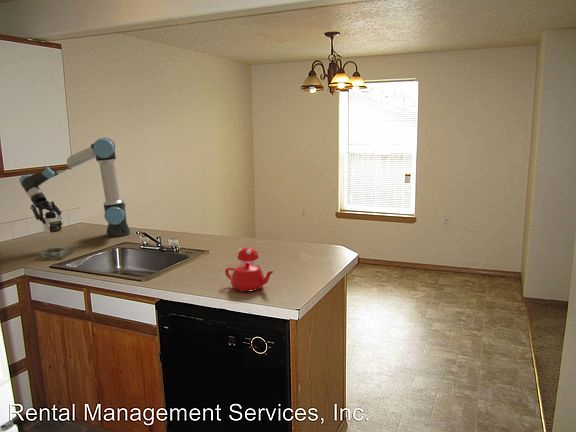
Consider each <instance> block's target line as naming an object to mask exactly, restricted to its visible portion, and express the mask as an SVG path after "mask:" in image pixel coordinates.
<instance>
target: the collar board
mask: <svg viewBox="0 0 576 432" xmlns="http://www.w3.org/2000/svg"><path fill="white" fill-rule="evenodd" d="M71 254H73V251H72V250H69V247H48V248H46V249H43V250H42V251H41V252H39V253H38V257H36V258H35V260H36V261H61V260H64V259H66V258H67V257H68V256H70V255H71Z"/></svg>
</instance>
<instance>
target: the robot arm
mask: <svg viewBox="0 0 576 432" xmlns="http://www.w3.org/2000/svg"><path fill="white" fill-rule="evenodd" d="M69 156H70V157H69ZM69 156H68V157H69V158H68V159H67V166H68V167H69V168H70V169H67V168H66V170H61V171H52V170H51V169H50V168H49V167H46V169H45V171H43V173H36V174H34V173H32V174H30V175H25V174H23V175H21V176H20V177H19V183H20V185H21V187H22V188H23V189H24V191H25V192H26V195H27V196H28V198H29V199H30V201H31V202H32V204H30V207H29V208H30V209H31V211H32V213H33V215H34V217H35V219H36V221H38V220H39V222H41V223H42V224H45V225H46V227H47V228H48V229H49V228H50V224H49V223H48V221H47V220H46V217H45V216H44V212H43V210H46V211H47V212H56V213H57V219H59V220H61V227H62V226H63V224H64V222H63V220H62V219H63V218H62V216H61V215H62V211H61V210H60V208H59V207H58V206H57V205H56V204H55V202H54V201H53V200H51V201H48V200H47V197H46V196H45V195H44V193H43V191H42V190H41V188H40V187H39V186H41V185H42V184H44V183H46V182H47V181H49V180H50V179H52V178H53V177H56V176H58V175H60V174H62V173H65V172H68V171H70V170H71V169H73V168H76V167H78V166H81V165H83V164H86V163H87V162H89V161H91V160H94V159H95V160H96V162H97V163H98V164H99V169H100V175H101V182H102V188H103V193H104V198H105V199H104V200H105V201H104V202H103V209H104V210H103V211H104V218H105V221H106V222H107V228H106V233H105V234H106V236H107V237H110V238H113V237H114V238H116V237H117V238H118V237H125V236H129V235H130V234H131V230H130V227H129V225H128V224H129V223H127V213H126V212H127V211H126V201H125V200H121V199H120V192H119V184H118V180H117V174H116V166H115V161H116V160H117V157H116V156H117V155H116V145H115V142H114V141H113V140H112V139H111V138H109V137H101V138H98V139H96V140H95V142H94V143H92V144H90V145H89V147H87V148H84V149H82V150H80V151H78V152H75V153H73V154H71V155H69Z"/></svg>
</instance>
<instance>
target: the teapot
mask: <svg viewBox="0 0 576 432" xmlns="http://www.w3.org/2000/svg"><path fill="white" fill-rule="evenodd" d="M244 263H245V265H238V266H236V267H235V268H234V267H227V268H225V271H224V273H225V275H226V277H227V279H228V280H230V284H231V286H232V288H234V290H236V289H237V290H236V291H239V290H242V291H249V290H255V289H258V290H260V289H262V288H263V287H264V285H266V284H267V283H269V281H270V276H271V275H272V274H273V273H274V272H275V271H274V270H270V271H268V272H267V274H266V276H265V274H264V272H263V271H262V269H261V266H259V265H256V264H255V265H250V262H244ZM229 271H233V272H232V273H231V274H232V275H230V273H229ZM259 288H260V289H259ZM242 291H241V292H242Z"/></svg>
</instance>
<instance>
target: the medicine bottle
mask: <svg viewBox="0 0 576 432" xmlns="http://www.w3.org/2000/svg"><path fill="white" fill-rule="evenodd" d="M44 217H45V218H46V220H47V221H48V223H49V224H50V228H49V229H48V228H47V227H46V225H45V224H43V223H42V224H43V230H44V233H46V234H50V235H51V234H55V233H61V232H63V229H62V226H61V220H59V219H57V213H56V212H50V211H47V212H45V213H44Z"/></svg>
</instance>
